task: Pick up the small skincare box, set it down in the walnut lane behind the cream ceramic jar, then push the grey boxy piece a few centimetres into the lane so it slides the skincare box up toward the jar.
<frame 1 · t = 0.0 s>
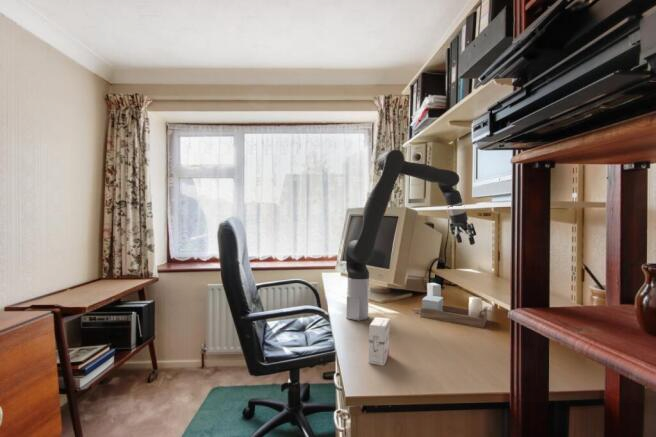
hand: (466, 243, 159), 31 cm above the table, tool tilted 20°, fingers open, 8 cm apart
skincare box: (433, 309, 156), on the table
lane: (453, 319, 142), on the table
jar: (474, 321, 137), resting on lane
ink box: (379, 359, 101), on the table
grey boxy piece: (426, 305, 148), point 4 cm above the table, slide at 0.0 cm
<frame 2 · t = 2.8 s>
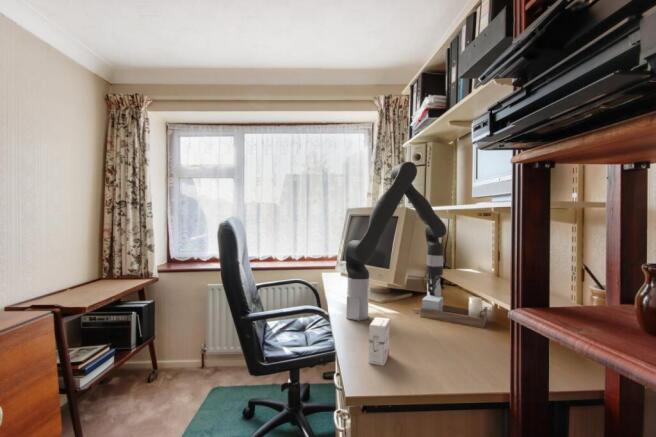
hand: (433, 298, 156), 5 cm above the table, tool pointing down, fingers closed on skincare box, 7 cm apart
skincare box: (433, 309, 156), on the table, touching gripper
everything else where it was.
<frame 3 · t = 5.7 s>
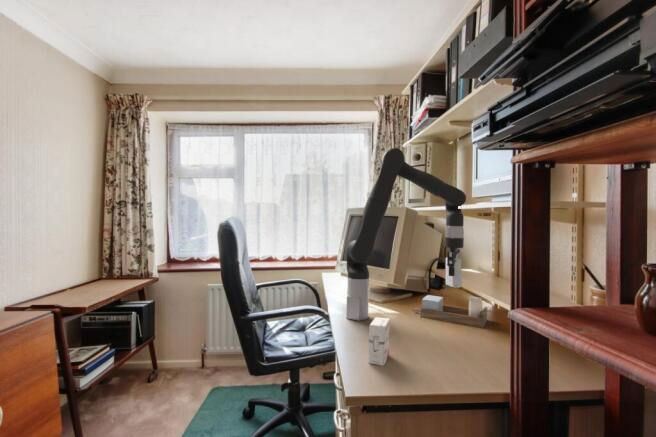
hand: (453, 274, 142), 19 cm above the table, tool pointing down, fingers closed on skincare box, 7 cm apart
skincare box: (452, 286, 142), point 14 cm above the table, touching gripper
everything else where it was.
when the fingers open (7 cm above the table, at t = 8.5 s): skincare box drops 1 cm, resting on lane.
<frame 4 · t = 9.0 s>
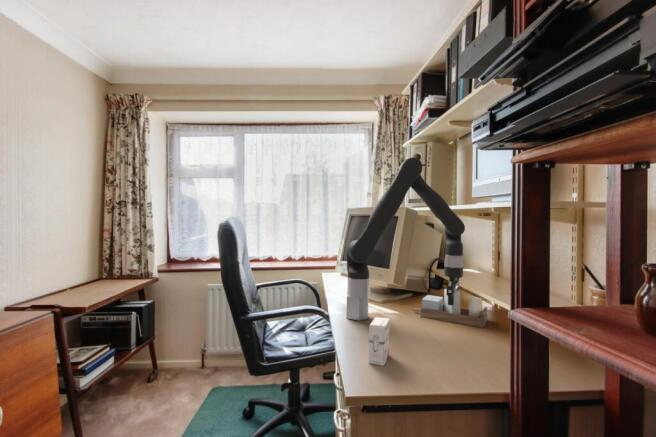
hand: (452, 302, 142), 7 cm above the table, tool pointing down, fingers open, 8 cm apart
skincare box: (451, 318, 142), resting on lane
everything else where it was.
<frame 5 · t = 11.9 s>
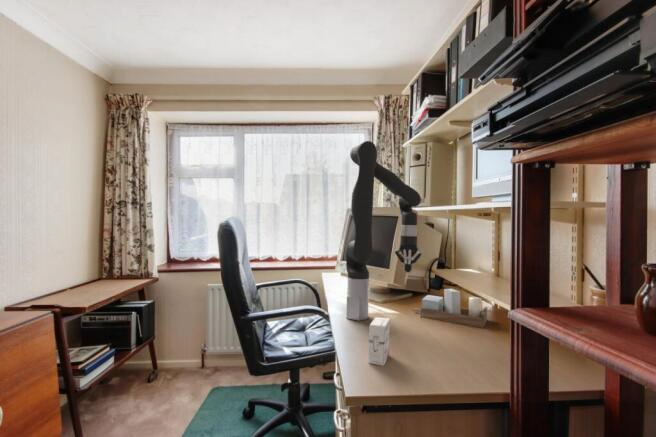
hand: (408, 272, 152), 18 cm above the table, tool pointing down, fingers closed
nothing on the table moved.
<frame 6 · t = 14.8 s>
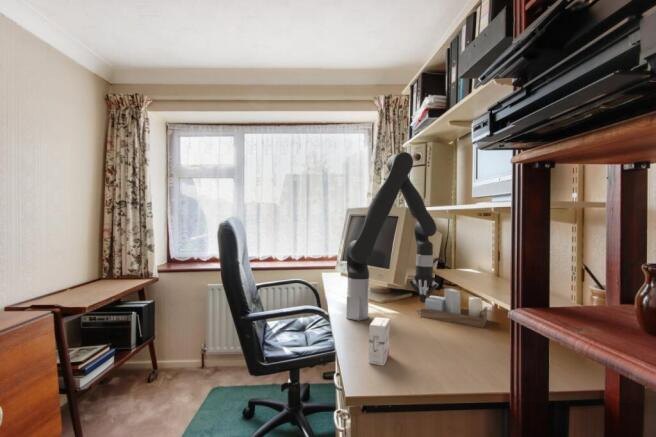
hand: (423, 302, 149), 5 cm above the table, tool pointing down, fingers closed
skincare box: (451, 318, 142), resting on lane, touching grey boxy piece
grey boxy piece: (430, 305, 147), point 4 cm above the table, slide at 1.4 cm, touching gripper, skincare box
everything else where it was.
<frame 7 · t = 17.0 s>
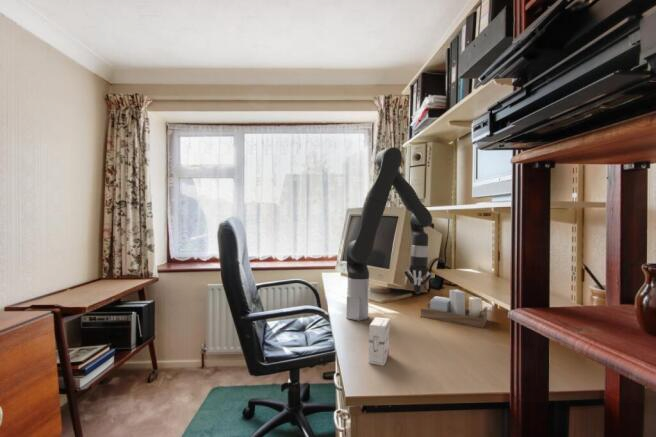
hand: (417, 293, 150), 9 cm above the table, tool pointing down, fingers closed
skincare box: (456, 319, 141), resting on lane, touching grey boxy piece
grey boxy piece: (434, 306, 146), point 4 cm above the table, slide at 3.5 cm, touching skincare box
everything else where it was.
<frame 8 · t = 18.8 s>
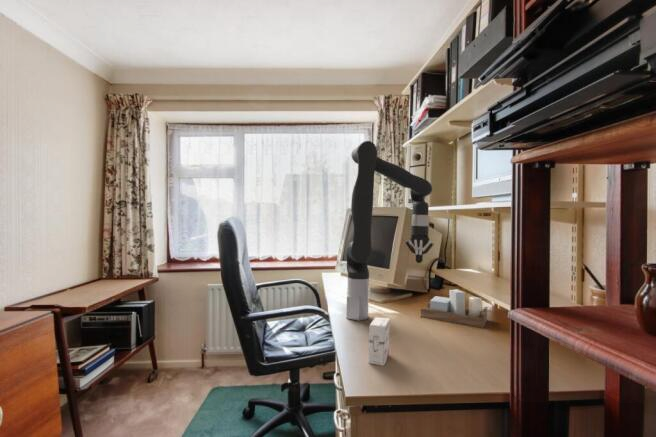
hand: (419, 262, 150), 23 cm above the table, tool pointing down, fingers closed
nothing on the table moved.
at the end: skincare box inside the target area (0.9 cm from its centre), resting on lane; skincare box tilted 1°; grey boxy piece slide at 3.5 cm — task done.
